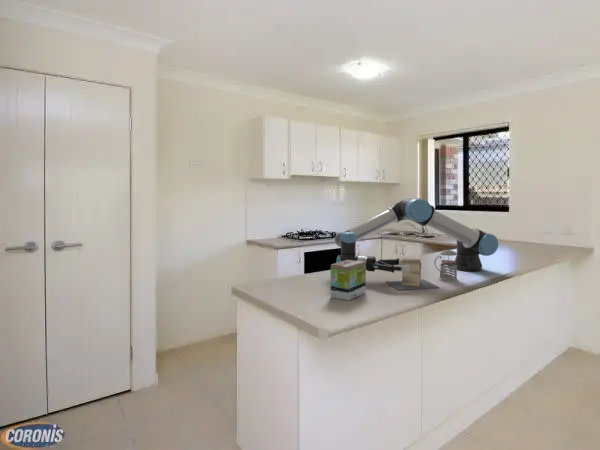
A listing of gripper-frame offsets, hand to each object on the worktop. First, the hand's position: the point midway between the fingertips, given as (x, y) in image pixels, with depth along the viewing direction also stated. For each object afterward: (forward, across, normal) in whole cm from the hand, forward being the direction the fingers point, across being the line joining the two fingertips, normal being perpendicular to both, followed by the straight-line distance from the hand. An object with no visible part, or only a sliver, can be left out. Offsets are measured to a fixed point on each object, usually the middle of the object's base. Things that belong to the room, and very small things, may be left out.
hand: (410, 266), depth 174 cm
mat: (0, 0, -10) cm, 10 cm away
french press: (+16, -16, -10) cm, 25 cm away
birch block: (0, 0, -9) cm, 9 cm away
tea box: (-24, +26, -10) cm, 36 cm away
